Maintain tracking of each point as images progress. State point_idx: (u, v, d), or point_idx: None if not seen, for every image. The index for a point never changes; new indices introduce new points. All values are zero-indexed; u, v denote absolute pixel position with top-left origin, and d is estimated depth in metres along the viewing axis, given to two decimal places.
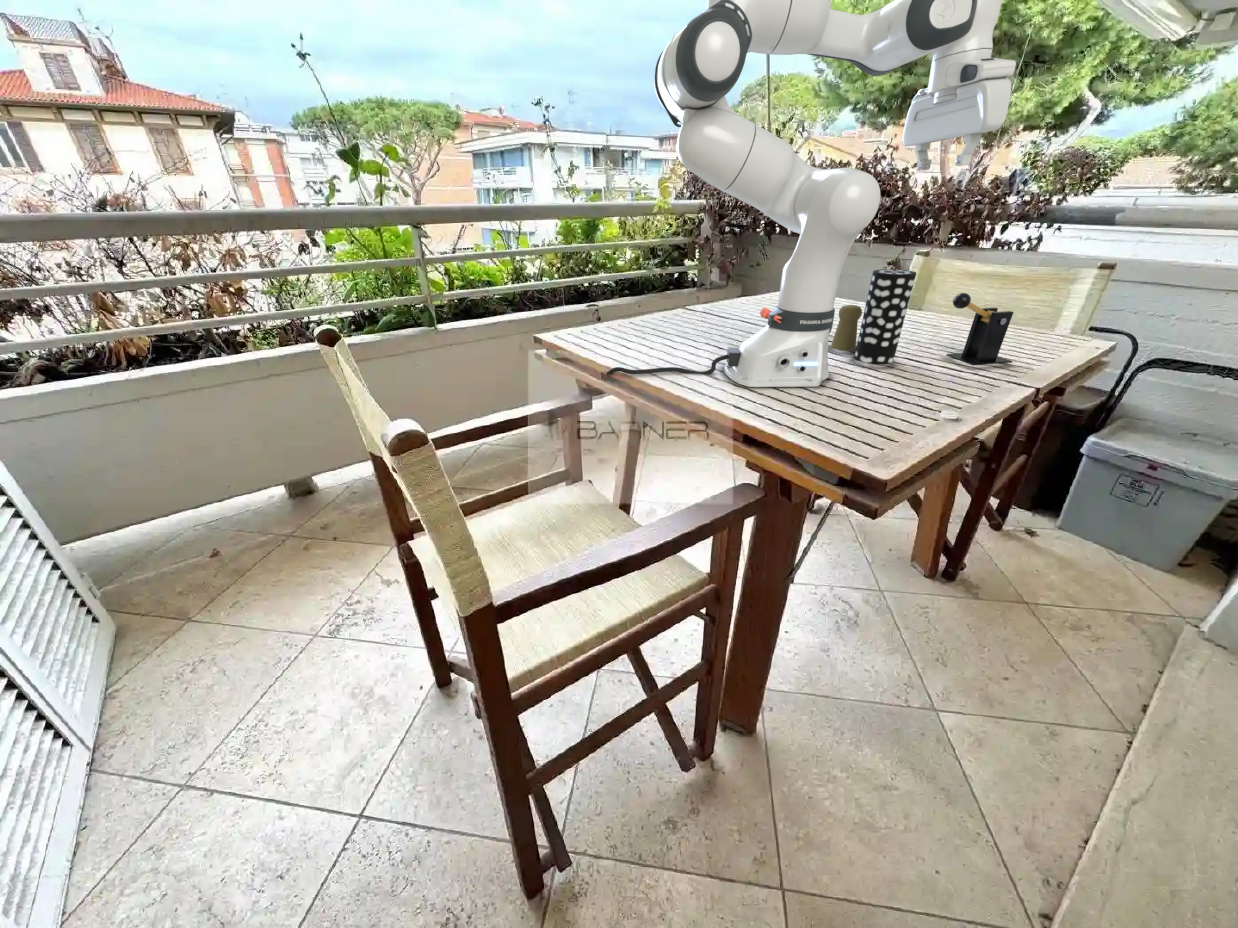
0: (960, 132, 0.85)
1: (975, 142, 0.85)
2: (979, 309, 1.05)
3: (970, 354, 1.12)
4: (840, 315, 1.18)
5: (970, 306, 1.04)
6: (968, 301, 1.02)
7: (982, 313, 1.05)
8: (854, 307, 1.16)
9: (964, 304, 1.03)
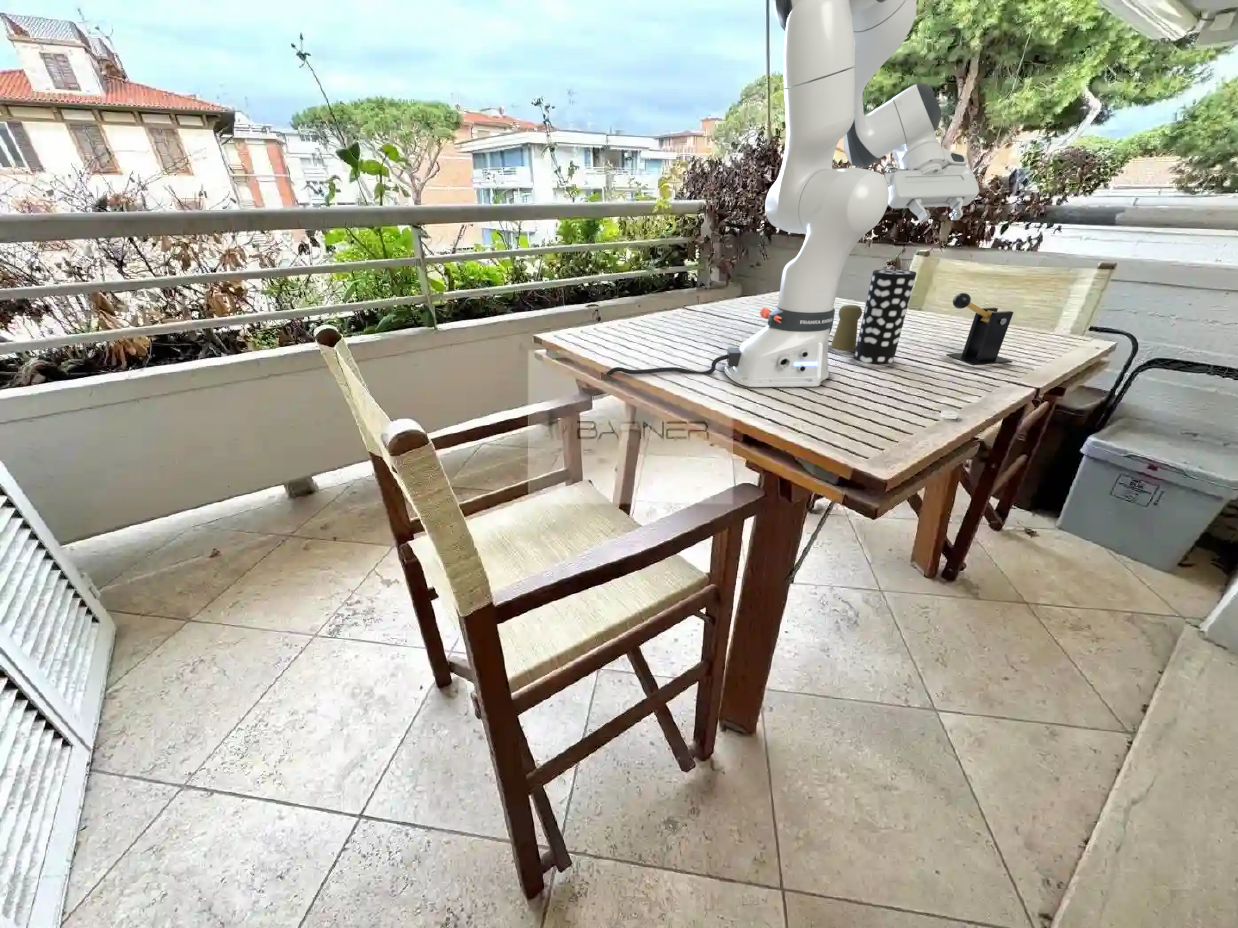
0: (959, 192, 1.07)
1: None
2: (979, 309, 1.05)
3: (970, 354, 1.12)
4: (840, 315, 1.18)
5: (970, 306, 1.04)
6: (968, 301, 1.02)
7: (982, 313, 1.05)
8: (854, 307, 1.16)
9: (964, 304, 1.03)
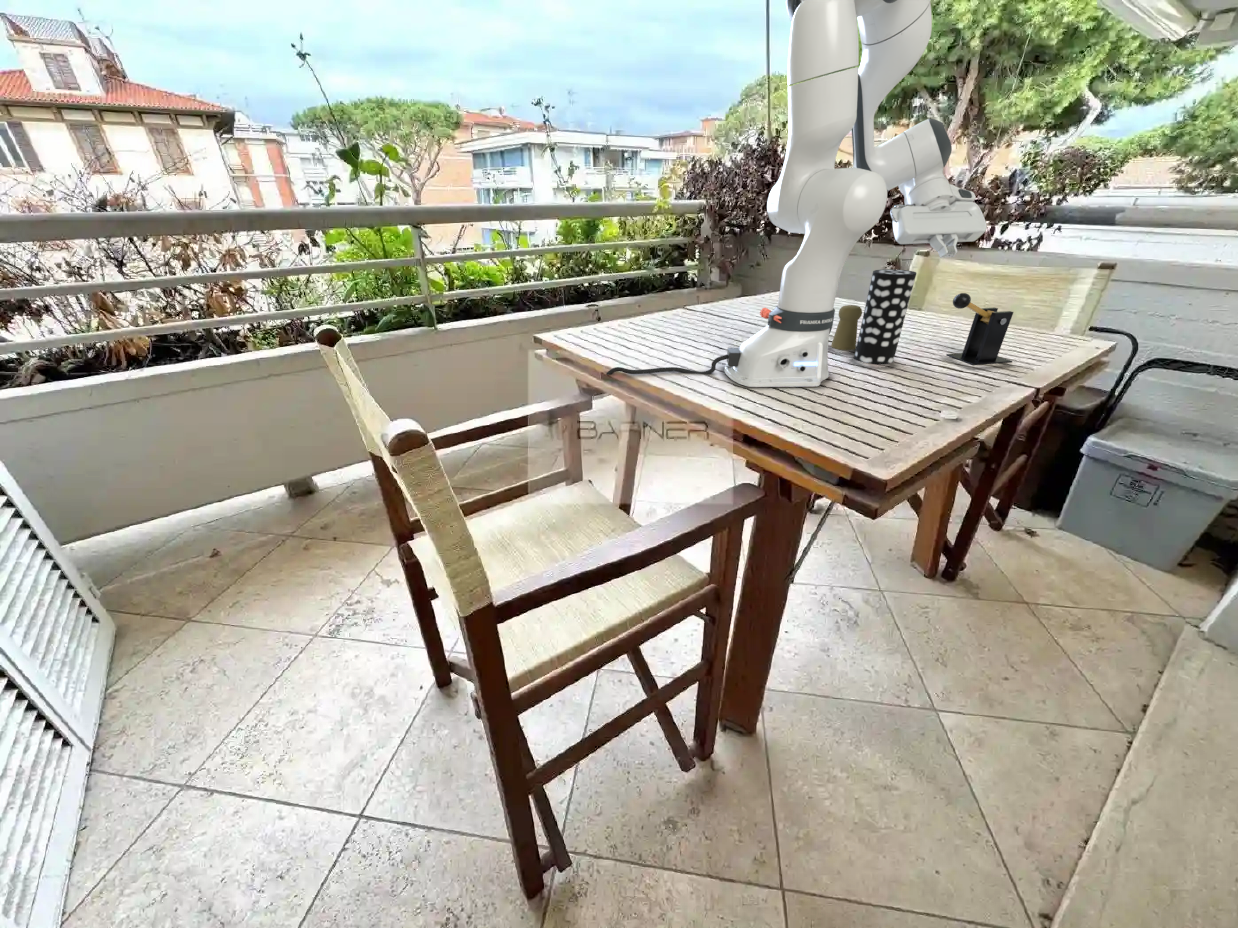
0: (967, 229, 1.06)
1: None
2: (979, 309, 1.05)
3: (970, 354, 1.12)
4: (840, 315, 1.18)
5: (970, 306, 1.04)
6: (968, 301, 1.02)
7: (982, 313, 1.05)
8: (854, 307, 1.16)
9: (964, 304, 1.03)
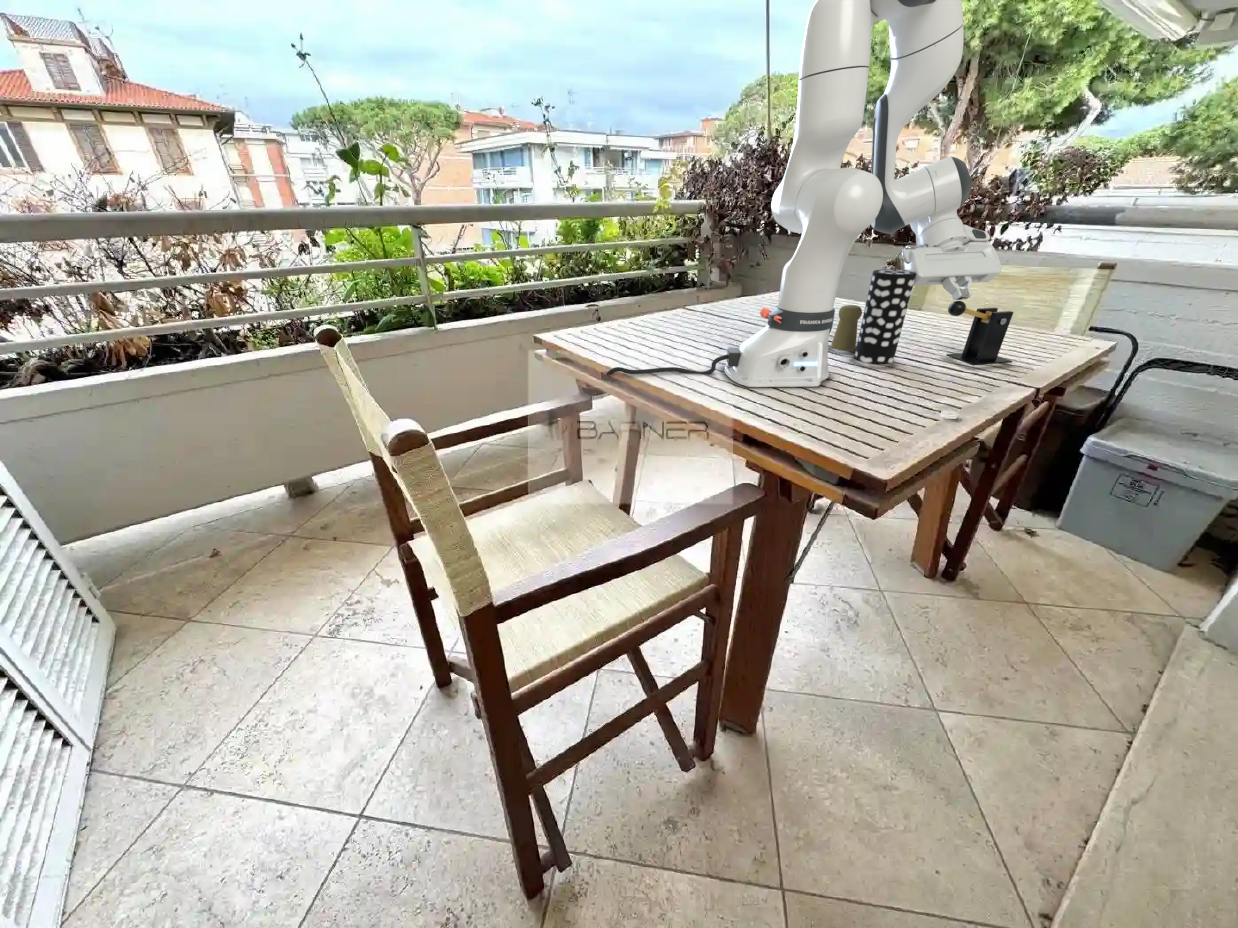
0: (981, 271, 1.03)
1: None
2: (976, 313, 1.05)
3: (970, 354, 1.12)
4: (840, 315, 1.18)
5: (966, 312, 1.05)
6: (963, 309, 1.03)
7: (980, 316, 1.06)
8: (854, 307, 1.16)
9: (960, 312, 1.03)
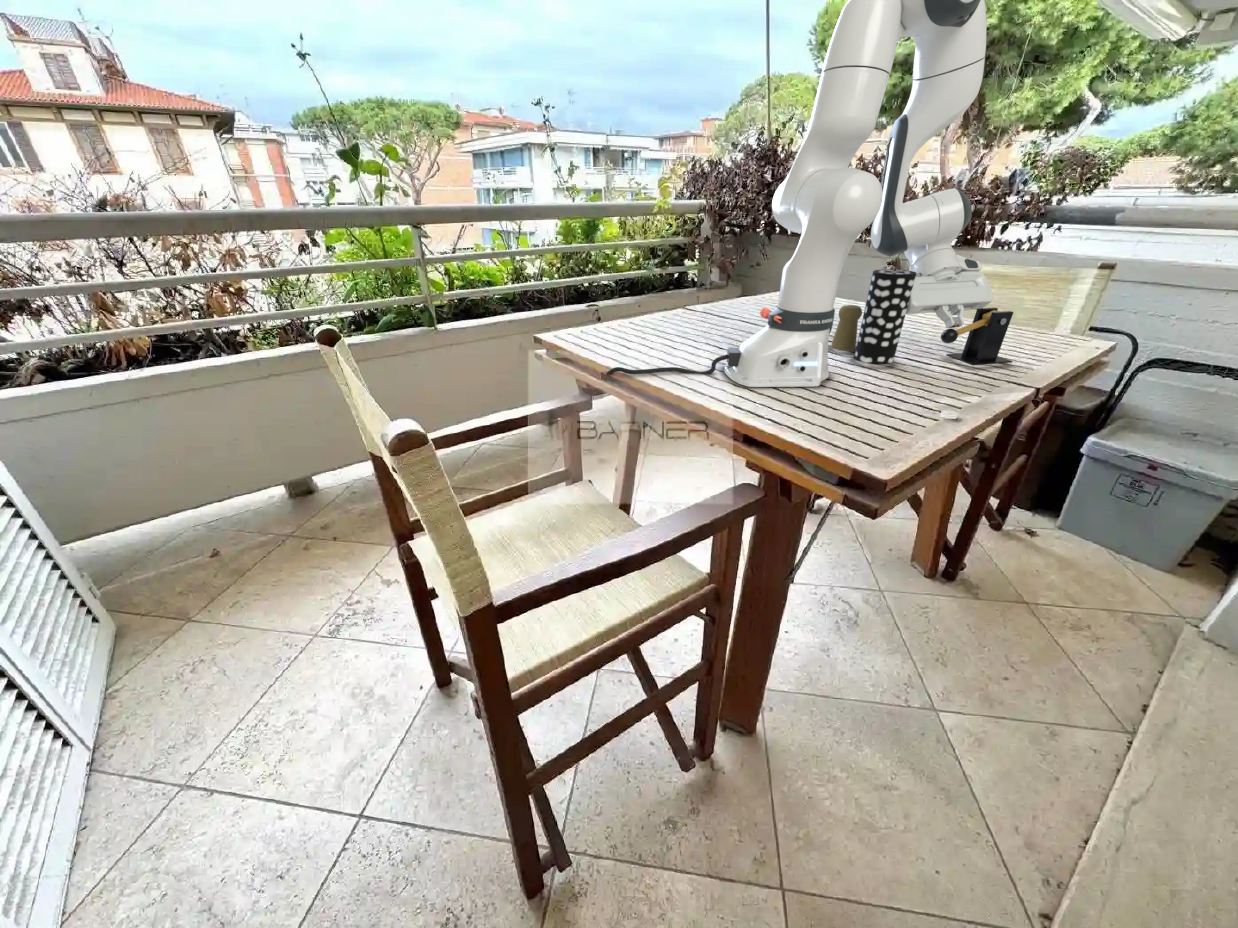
0: (973, 299, 1.06)
1: None
2: (972, 327, 1.07)
3: (970, 354, 1.12)
4: (840, 315, 1.18)
5: (961, 333, 1.07)
6: (955, 336, 1.06)
7: (978, 326, 1.07)
8: (854, 307, 1.16)
9: (953, 340, 1.06)
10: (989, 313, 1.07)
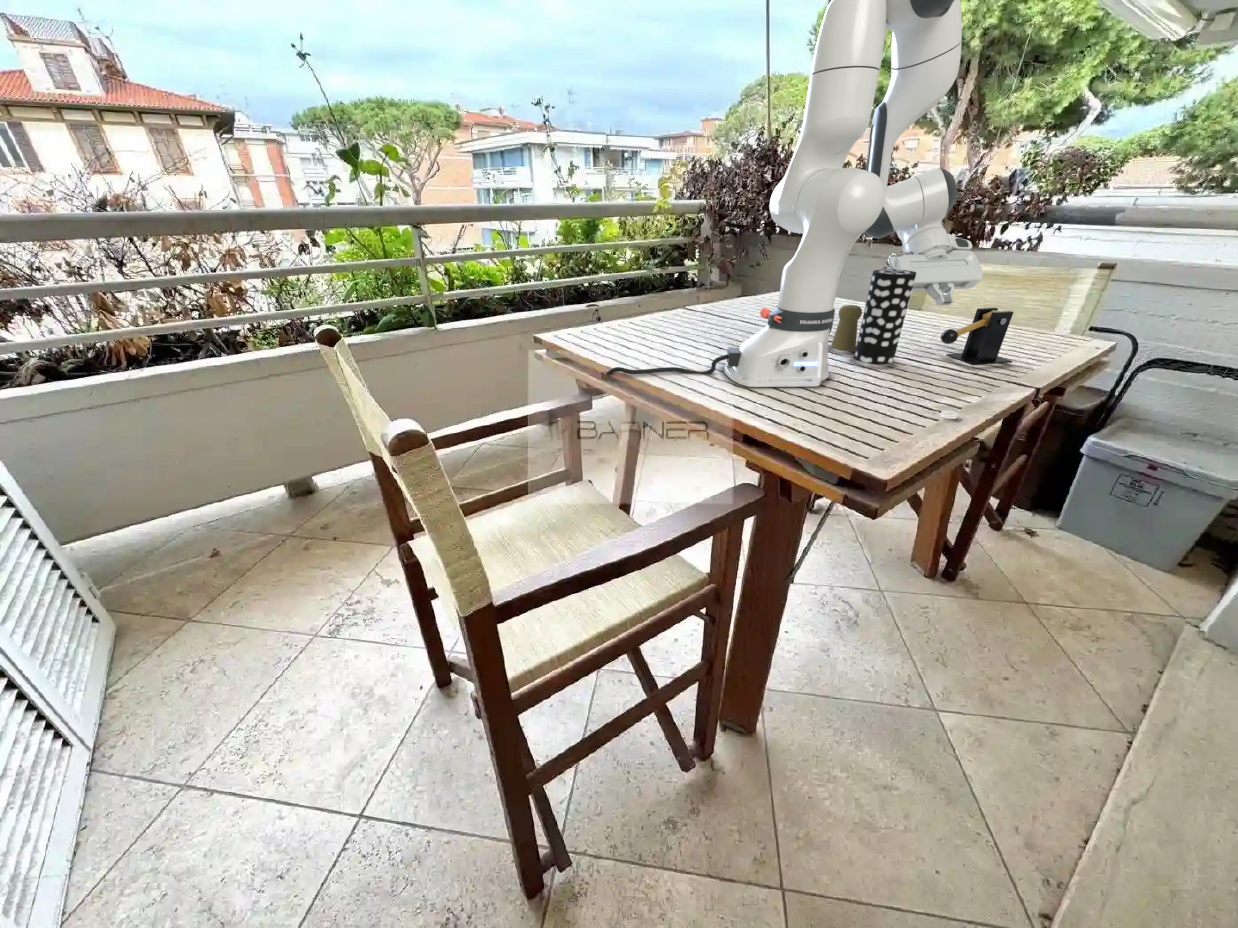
0: (963, 278, 1.08)
1: None
2: (972, 327, 1.07)
3: (970, 354, 1.12)
4: (840, 315, 1.18)
5: (961, 333, 1.07)
6: (955, 337, 1.06)
7: (978, 326, 1.07)
8: (854, 307, 1.16)
9: (953, 341, 1.06)
10: (989, 313, 1.07)
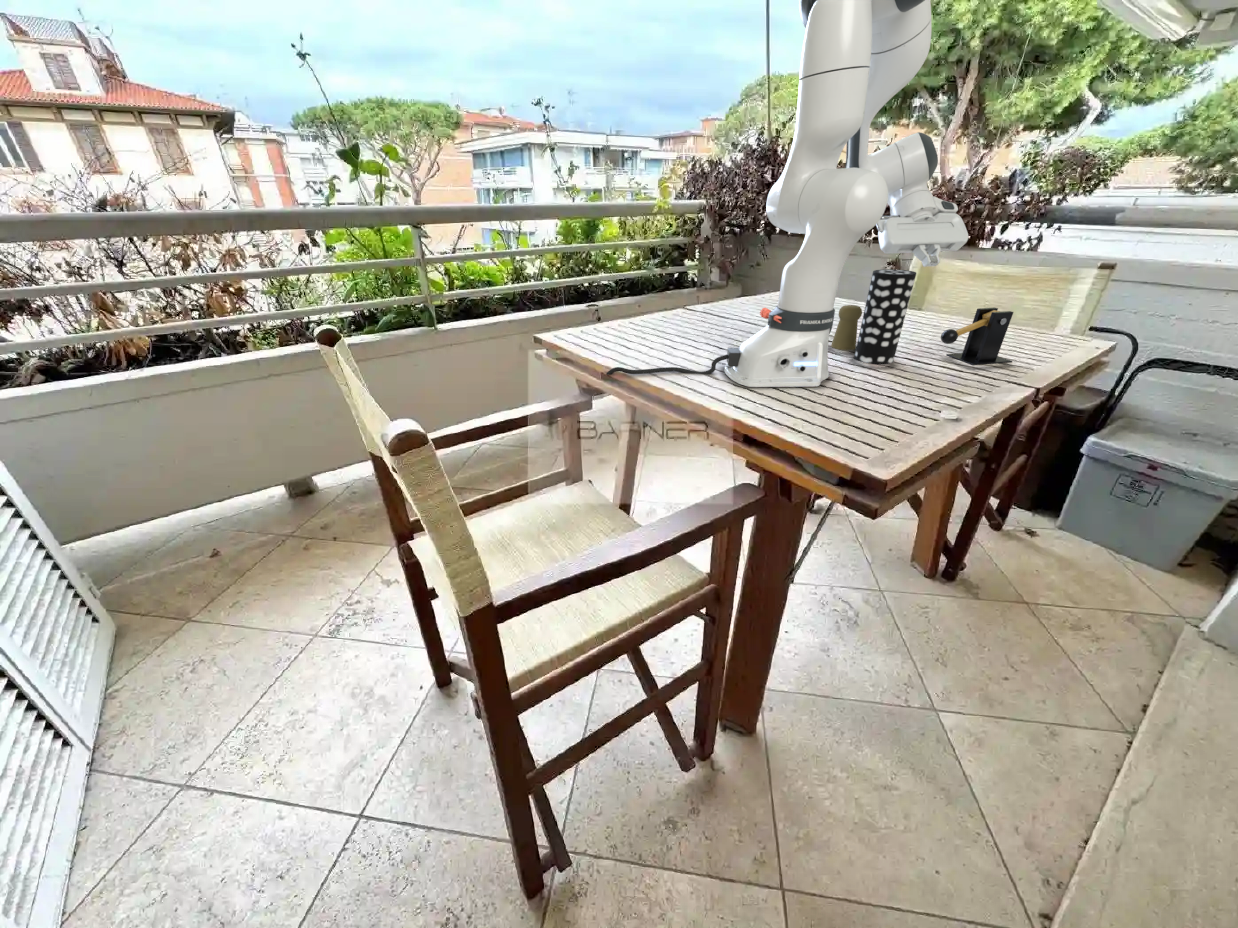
0: (949, 239, 1.11)
1: None
2: (972, 327, 1.07)
3: (970, 354, 1.12)
4: (840, 315, 1.18)
5: (961, 333, 1.07)
6: (955, 337, 1.06)
7: (978, 326, 1.07)
8: (854, 307, 1.16)
9: (953, 341, 1.06)
10: (989, 313, 1.07)
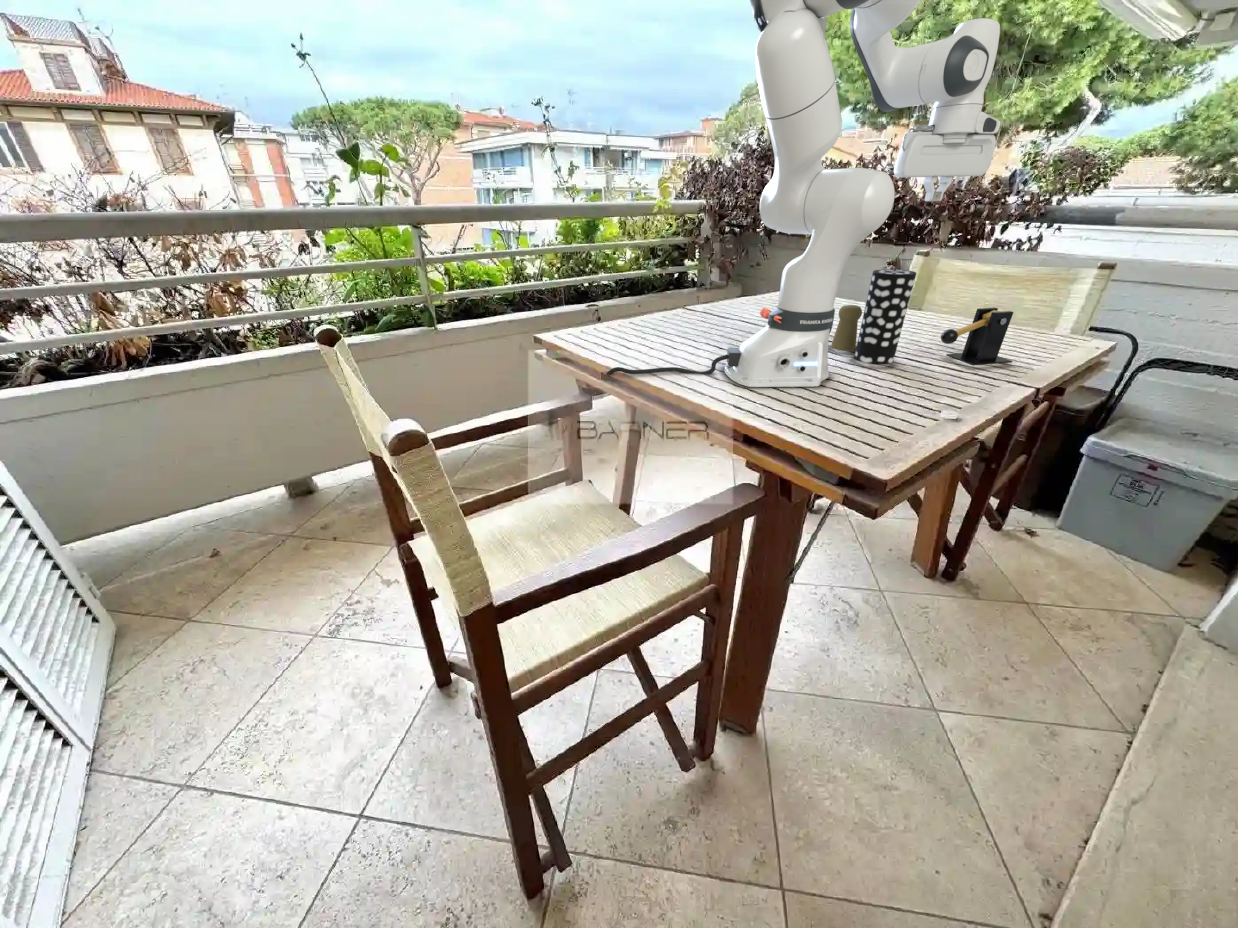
0: (966, 172, 1.03)
1: None
2: (972, 327, 1.07)
3: (970, 354, 1.12)
4: (840, 315, 1.18)
5: (961, 333, 1.07)
6: (955, 337, 1.06)
7: (978, 326, 1.07)
8: (854, 307, 1.16)
9: (953, 341, 1.06)
10: (989, 313, 1.07)
